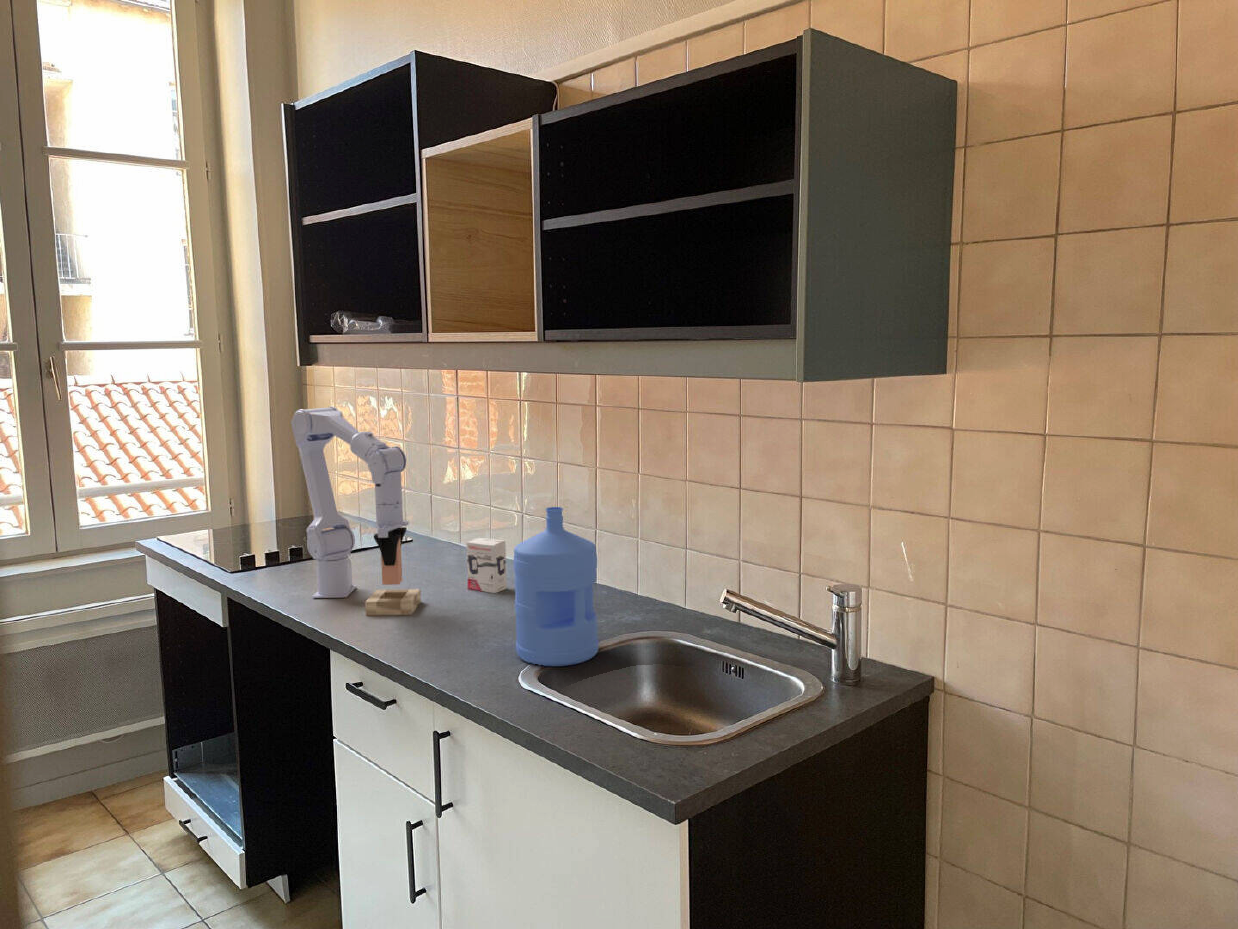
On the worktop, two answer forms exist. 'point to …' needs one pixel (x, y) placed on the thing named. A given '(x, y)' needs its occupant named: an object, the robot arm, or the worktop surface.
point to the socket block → (393, 602)
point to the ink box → (486, 565)
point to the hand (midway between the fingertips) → (391, 563)
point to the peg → (393, 569)
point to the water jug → (555, 596)
